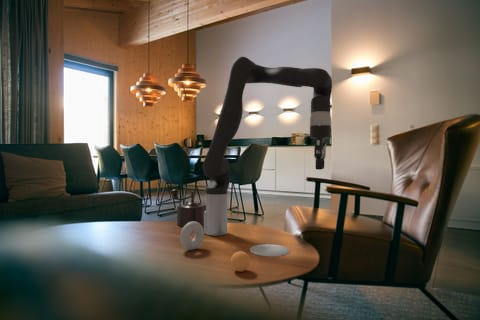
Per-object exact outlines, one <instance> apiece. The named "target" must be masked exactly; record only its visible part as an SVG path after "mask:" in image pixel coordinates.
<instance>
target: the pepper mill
mask: <svg viewBox="0 0 480 320" xmlns="http://www.w3.org/2000/svg"><path fill="white" fill-rule="evenodd" d="M194 192H195V191H193V190H191V192H190V195H188V196H186V197H183V198H179V196H178V195H179V189H176V188H174V189H171V190H170V193H169V194H170V195H171V196H172V199H171V200H176V201H185V200H186V201H185V202H186V203H184V204H182V205H179V206H178V205H177V214H176V215H177V217H176V218H177V224H176V225H177V226H179V227H182V228H183V227H184V226H185V225H186V224H187V223H189V222H192V221H195V222H198V223H200V224H201V225H202V227H204V211H206V205H204V204H199V203H198V202H195V201H194ZM190 198H191V199H190ZM189 199H190V201H188V200H189Z"/></svg>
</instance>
